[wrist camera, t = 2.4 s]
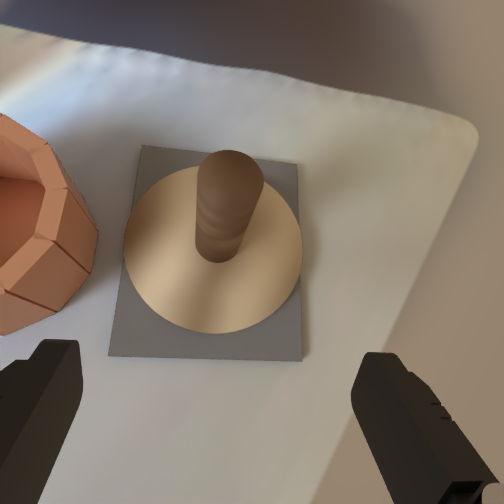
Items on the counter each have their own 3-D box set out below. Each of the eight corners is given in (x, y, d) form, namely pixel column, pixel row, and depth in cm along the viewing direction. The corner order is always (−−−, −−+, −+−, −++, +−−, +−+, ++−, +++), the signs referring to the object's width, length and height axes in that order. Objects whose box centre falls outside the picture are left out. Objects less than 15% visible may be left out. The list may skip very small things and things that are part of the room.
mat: (110, 356, 20) (107, 355, 19) (143, 150, 25) (142, 145, 24) (299, 361, 22) (302, 361, 21) (294, 168, 27) (297, 164, 26)
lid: (112, 330, 20) (56, 304, 12) (139, 162, 24) (112, 55, 16) (301, 337, 22) (368, 320, 14) (297, 180, 26) (347, 94, 18)
